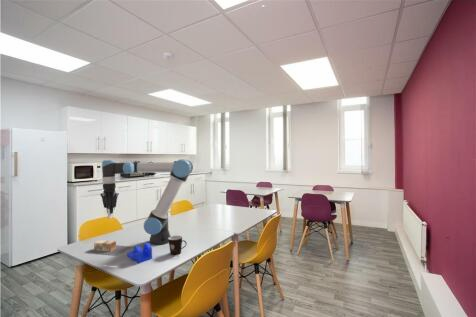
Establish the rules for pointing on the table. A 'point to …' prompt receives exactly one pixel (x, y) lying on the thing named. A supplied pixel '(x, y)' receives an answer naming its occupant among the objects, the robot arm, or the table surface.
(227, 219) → the table surface
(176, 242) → the coffee mug
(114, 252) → the charcoal mat
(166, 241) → the robot arm
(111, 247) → the birch pillar
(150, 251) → the bracket
